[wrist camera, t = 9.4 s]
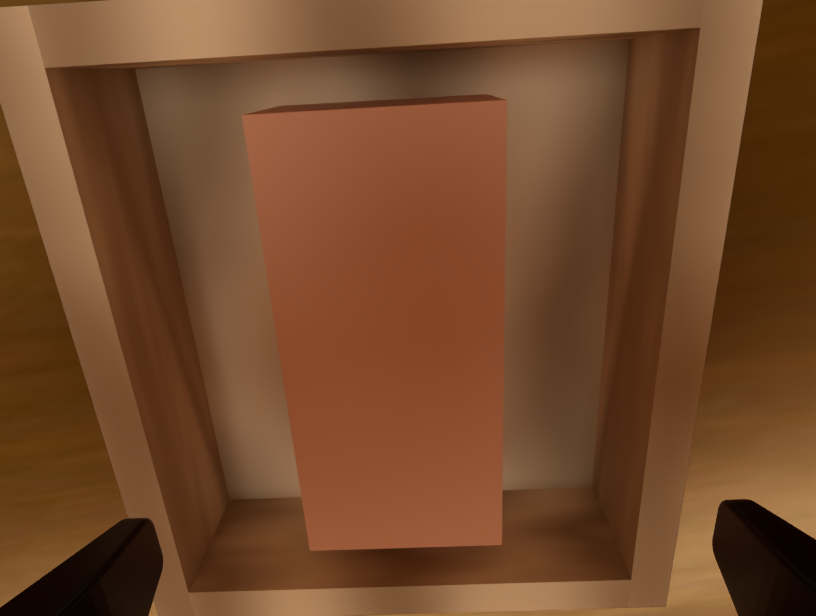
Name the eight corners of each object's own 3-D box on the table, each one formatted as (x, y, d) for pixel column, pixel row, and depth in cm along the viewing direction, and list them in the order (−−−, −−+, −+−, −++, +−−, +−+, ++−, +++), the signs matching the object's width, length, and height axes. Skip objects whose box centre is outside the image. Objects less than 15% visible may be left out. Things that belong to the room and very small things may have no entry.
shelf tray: (661, -8, 16) (769, -43, 11) (611, 490, 23) (665, 606, 18) (104, 28, 17) (-29, 9, 12) (214, 503, 24) (160, 620, 19)
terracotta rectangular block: (486, 94, 16) (507, 100, 13) (486, 463, 21) (501, 544, 18) (280, 105, 17) (241, 114, 13) (328, 469, 22) (310, 550, 18)
